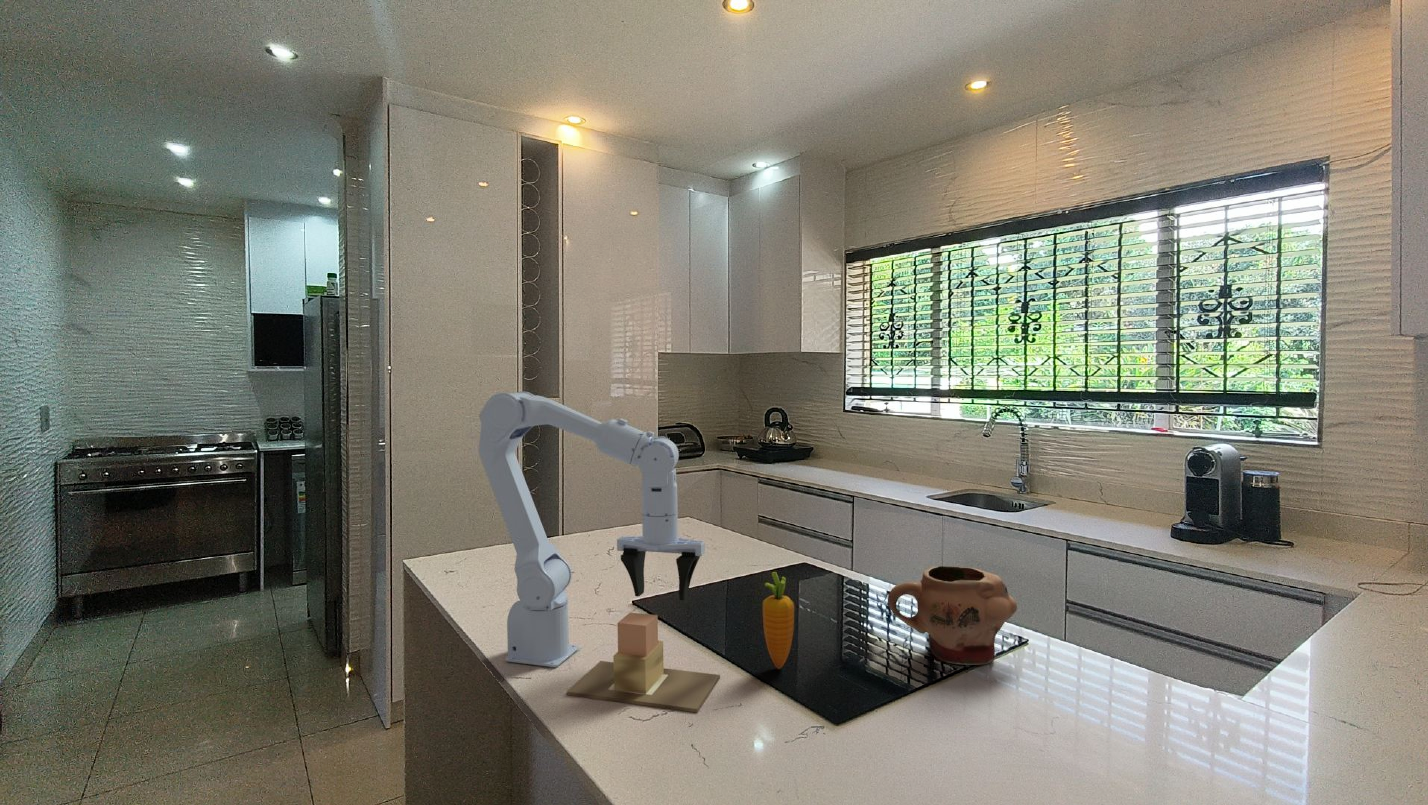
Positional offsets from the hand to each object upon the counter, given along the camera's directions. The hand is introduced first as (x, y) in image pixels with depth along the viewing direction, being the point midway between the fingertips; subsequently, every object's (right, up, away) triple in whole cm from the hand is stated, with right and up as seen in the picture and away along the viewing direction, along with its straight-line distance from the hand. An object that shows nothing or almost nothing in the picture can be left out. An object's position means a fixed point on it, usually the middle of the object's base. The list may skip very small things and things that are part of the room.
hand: (661, 596), depth 111 cm
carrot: (+19, -10, -4) cm, 22 cm away
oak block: (-3, -10, -9) cm, 14 cm away
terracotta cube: (-3, -5, -9) cm, 11 cm away
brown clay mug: (+47, -10, 0) cm, 48 cm away
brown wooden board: (-2, -11, -9) cm, 14 cm away
